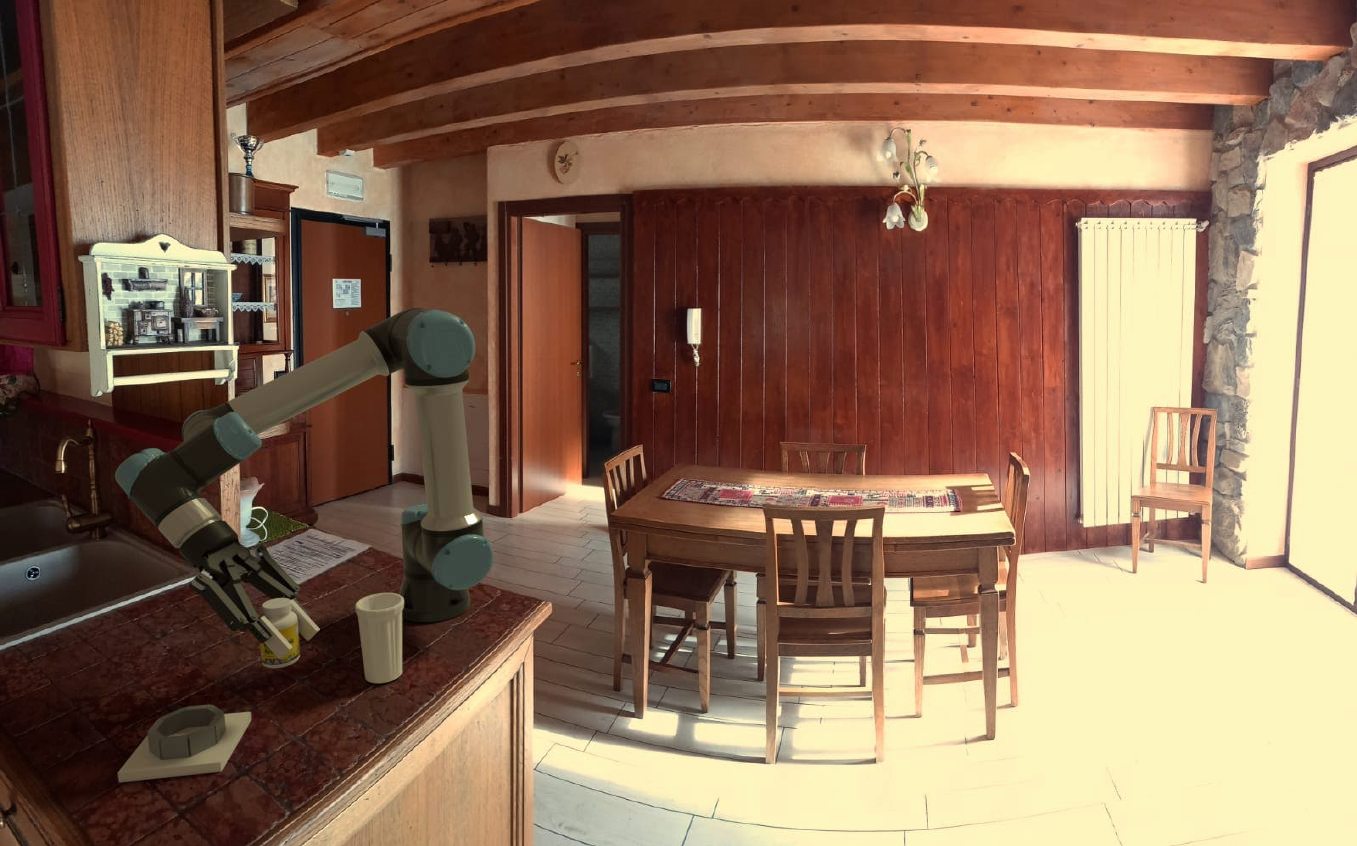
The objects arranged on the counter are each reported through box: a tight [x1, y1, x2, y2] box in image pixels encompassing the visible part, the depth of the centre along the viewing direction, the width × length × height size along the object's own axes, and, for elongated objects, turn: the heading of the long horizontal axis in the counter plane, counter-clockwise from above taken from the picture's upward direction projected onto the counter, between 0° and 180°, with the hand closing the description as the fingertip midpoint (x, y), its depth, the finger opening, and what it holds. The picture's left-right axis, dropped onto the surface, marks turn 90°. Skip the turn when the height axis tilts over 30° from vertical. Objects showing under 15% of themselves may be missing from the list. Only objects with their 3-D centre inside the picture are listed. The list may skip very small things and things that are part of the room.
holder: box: [117, 704, 252, 783], centre depth 112 cm, size 13×13×4 cm
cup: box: [355, 592, 404, 684], centre depth 133 cm, size 8×8×14 cm
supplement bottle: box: [259, 598, 301, 669], centre depth 117 cm, size 5×5×10 cm
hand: (300, 643), depth 117 cm, fingers closed on supplement bottle, 5 cm apart
